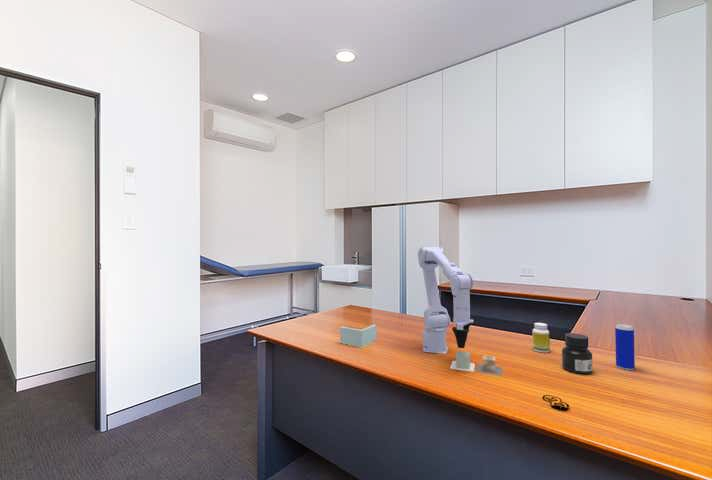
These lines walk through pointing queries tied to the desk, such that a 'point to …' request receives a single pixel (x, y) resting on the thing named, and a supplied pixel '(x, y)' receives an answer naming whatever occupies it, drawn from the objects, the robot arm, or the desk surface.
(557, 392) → the desk surface
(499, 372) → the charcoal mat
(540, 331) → the pill bottle
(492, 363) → the grey cube
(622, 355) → the beverage can
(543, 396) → the corroded twin loop
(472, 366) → the off-white mat
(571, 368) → the ink bottle
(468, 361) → the sage green cube
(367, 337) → the right angle wall
